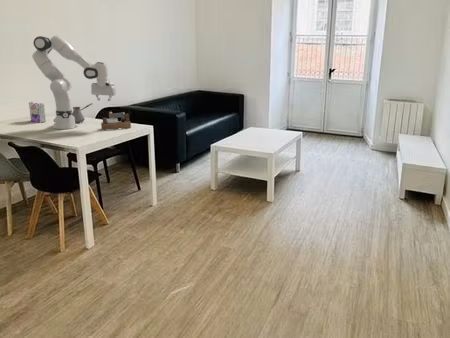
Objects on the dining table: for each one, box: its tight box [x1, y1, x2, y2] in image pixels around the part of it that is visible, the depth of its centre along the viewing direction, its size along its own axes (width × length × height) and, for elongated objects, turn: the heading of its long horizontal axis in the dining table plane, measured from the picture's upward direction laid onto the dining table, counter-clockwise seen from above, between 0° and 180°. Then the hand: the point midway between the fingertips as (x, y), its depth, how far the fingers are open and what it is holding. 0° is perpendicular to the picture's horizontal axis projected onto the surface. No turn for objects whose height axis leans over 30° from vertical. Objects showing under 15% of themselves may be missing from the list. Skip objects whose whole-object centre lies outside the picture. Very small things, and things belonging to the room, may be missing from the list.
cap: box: [106, 118, 119, 123], centre depth 328 cm, size 4×8×4 cm, turn 121°
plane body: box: [100, 113, 132, 131], centre depth 330 cm, size 7×22×11 cm, turn 120°
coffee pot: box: [72, 103, 93, 124], centre depth 352 cm, size 21×12×15 cm, turn 138°
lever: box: [108, 111, 126, 122], centre depth 329 cm, size 3×12×8 cm, turn 120°
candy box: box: [28, 100, 47, 124], centre depth 348 cm, size 14×6×16 cm, turn 55°
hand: (104, 100), depth 328 cm, fingers open, 8 cm apart
